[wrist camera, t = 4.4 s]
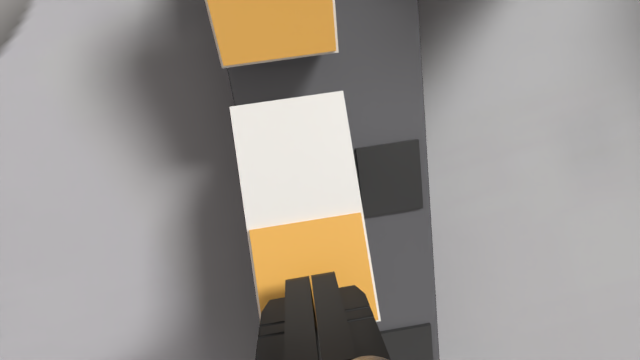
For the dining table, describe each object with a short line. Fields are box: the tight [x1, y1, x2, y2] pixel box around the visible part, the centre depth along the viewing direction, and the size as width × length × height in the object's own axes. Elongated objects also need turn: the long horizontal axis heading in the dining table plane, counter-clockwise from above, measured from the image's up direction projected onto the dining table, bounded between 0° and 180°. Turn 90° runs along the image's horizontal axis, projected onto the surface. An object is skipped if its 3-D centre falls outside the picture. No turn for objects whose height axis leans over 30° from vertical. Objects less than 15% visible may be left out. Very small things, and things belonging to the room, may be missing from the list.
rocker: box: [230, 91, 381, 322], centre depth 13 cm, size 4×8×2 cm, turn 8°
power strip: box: [228, 0, 439, 360], centre depth 17 cm, size 8×30×5 cm, turn 8°
